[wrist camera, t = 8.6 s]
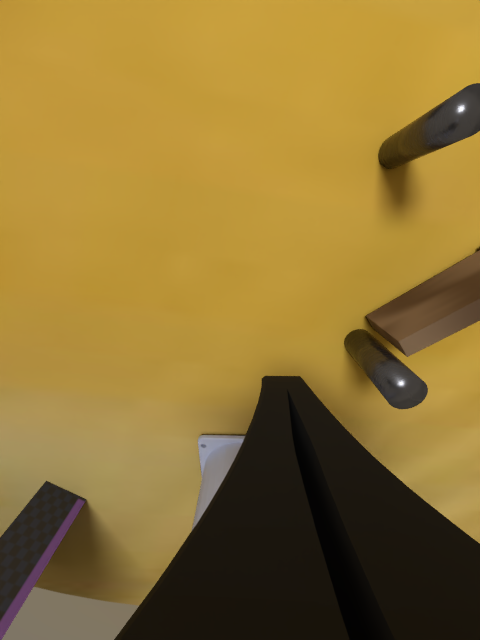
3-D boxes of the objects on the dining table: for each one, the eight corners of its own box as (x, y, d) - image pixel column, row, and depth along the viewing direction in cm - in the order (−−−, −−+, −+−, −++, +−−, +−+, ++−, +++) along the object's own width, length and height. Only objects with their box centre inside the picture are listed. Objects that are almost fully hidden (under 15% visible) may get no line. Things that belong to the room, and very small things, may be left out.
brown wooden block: (374, 330, 17) (413, 363, 13) (364, 313, 17) (401, 342, 12) (501, 260, 15) (596, 272, 11) (494, 238, 14) (590, 242, 10)
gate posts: (369, 353, 18) (421, 409, 12) (342, 352, 18) (383, 408, 12) (415, 134, 13) (539, 63, 7) (378, 135, 13) (473, 66, 7)
